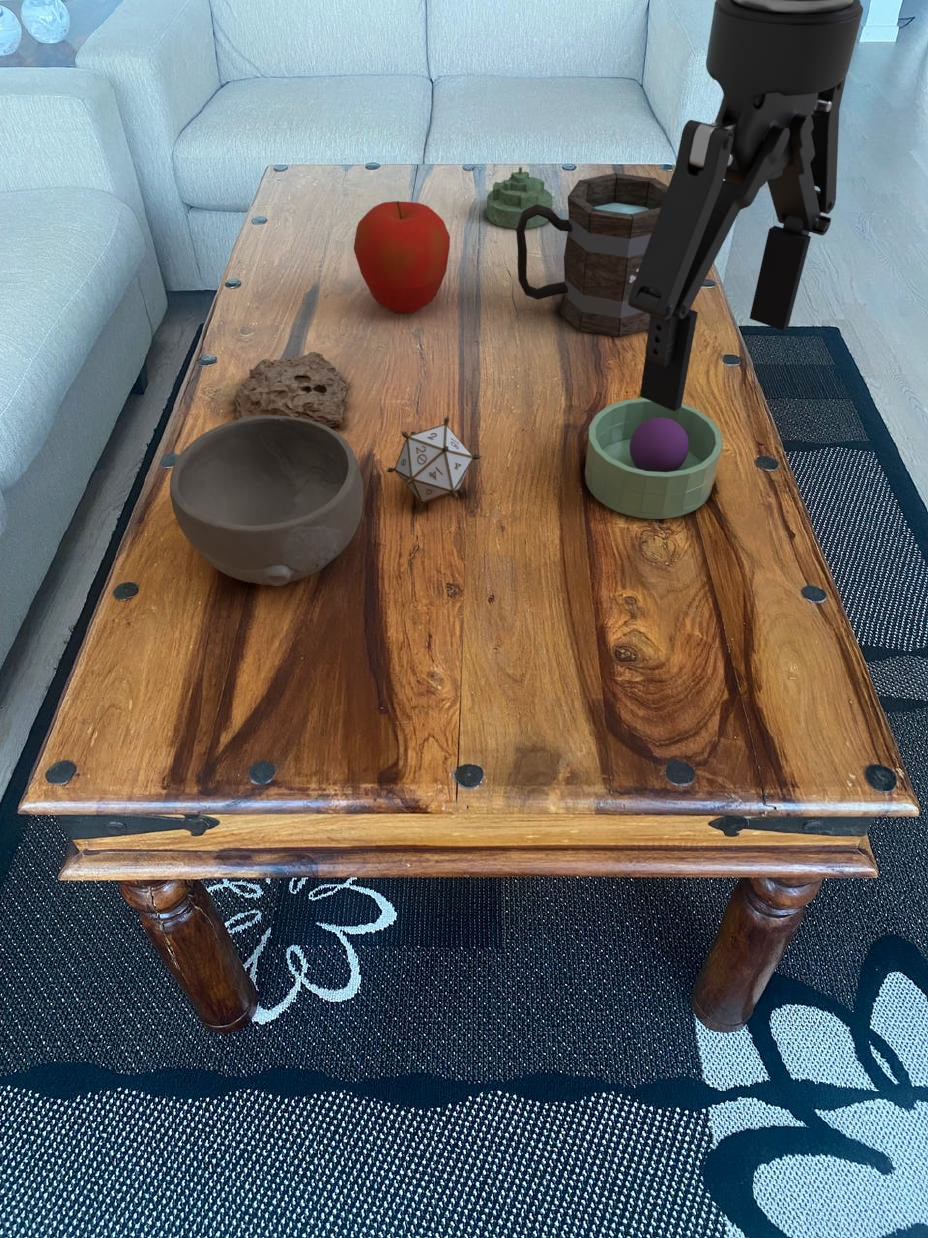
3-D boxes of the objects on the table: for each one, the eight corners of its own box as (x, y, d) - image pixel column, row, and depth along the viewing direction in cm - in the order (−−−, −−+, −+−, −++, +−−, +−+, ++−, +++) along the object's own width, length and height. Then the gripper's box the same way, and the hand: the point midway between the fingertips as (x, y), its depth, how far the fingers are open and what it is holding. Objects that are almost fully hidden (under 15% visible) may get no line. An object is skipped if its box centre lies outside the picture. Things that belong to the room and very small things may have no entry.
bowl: (325, 627, 83) (311, 545, 76) (154, 585, 87) (125, 503, 80) (395, 510, 94) (388, 428, 87) (240, 477, 98) (221, 397, 91)
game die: (451, 528, 98) (479, 502, 88) (374, 506, 96) (394, 477, 86) (467, 451, 100) (496, 417, 90) (392, 428, 98) (414, 391, 88)
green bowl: (736, 474, 98) (747, 431, 94) (665, 537, 91) (674, 494, 87) (632, 425, 104) (638, 383, 100) (558, 481, 97) (562, 438, 93)
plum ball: (686, 476, 98) (708, 428, 94) (657, 494, 94) (678, 444, 90) (641, 449, 100) (660, 400, 96) (611, 465, 96) (629, 415, 92)
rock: (344, 433, 104) (340, 405, 101) (227, 433, 104) (220, 405, 101) (357, 362, 114) (354, 334, 111) (249, 363, 114) (244, 335, 111)
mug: (652, 284, 127) (668, 171, 116) (671, 335, 117) (691, 217, 106) (509, 288, 126) (512, 175, 115) (517, 340, 117) (521, 222, 106)
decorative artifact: (565, 215, 142) (521, 195, 147) (568, 168, 137) (522, 149, 142) (516, 234, 138) (473, 213, 143) (517, 186, 132) (473, 166, 138)
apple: (378, 338, 118) (368, 229, 107) (347, 297, 125) (335, 191, 115) (466, 317, 121) (464, 209, 111) (431, 278, 129) (426, 174, 118)
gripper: (838, -58, 56) (763, 279, 71) (584, 32, 43) (559, 417, 58) (961, -42, 52) (854, 310, 67) (723, 62, 40) (658, 464, 55)
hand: (717, 360), depth 63 cm, fingers open, 13 cm apart
